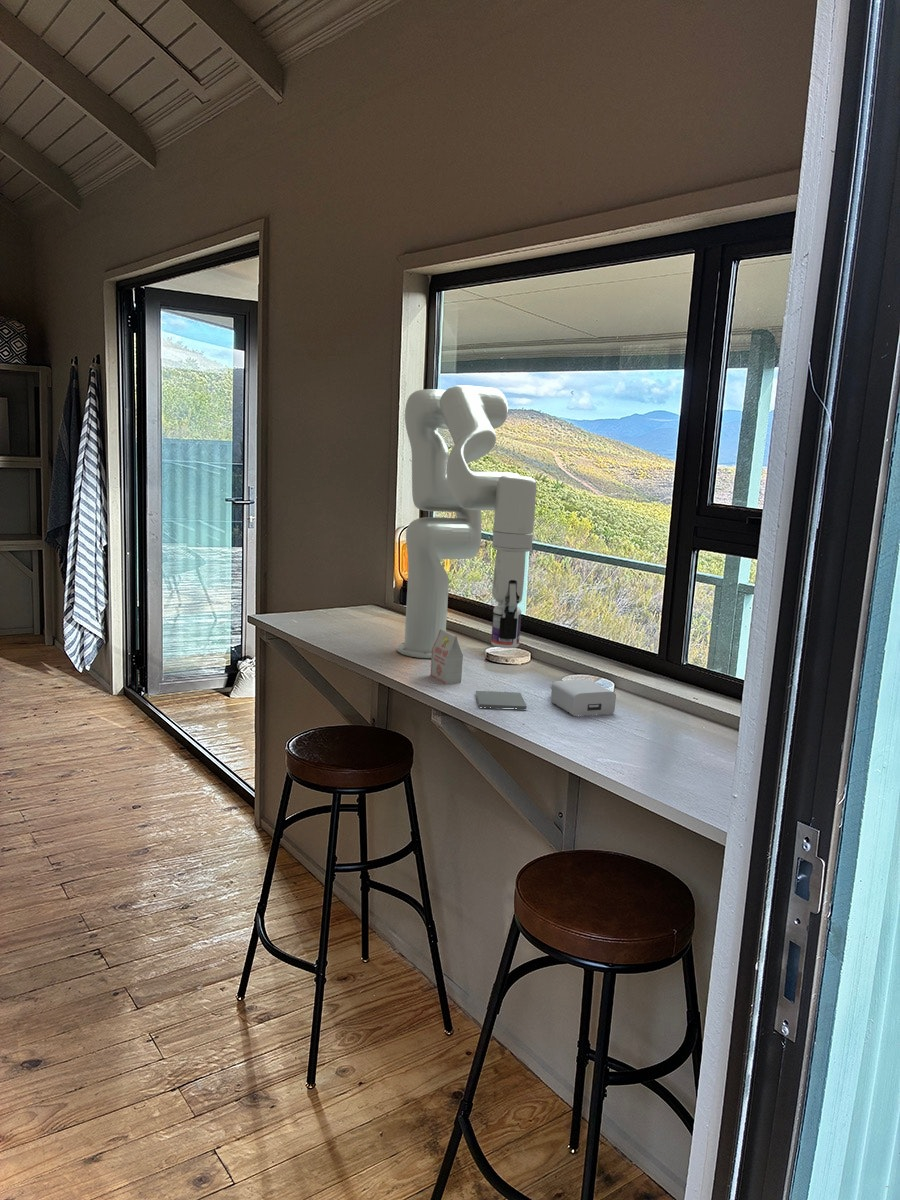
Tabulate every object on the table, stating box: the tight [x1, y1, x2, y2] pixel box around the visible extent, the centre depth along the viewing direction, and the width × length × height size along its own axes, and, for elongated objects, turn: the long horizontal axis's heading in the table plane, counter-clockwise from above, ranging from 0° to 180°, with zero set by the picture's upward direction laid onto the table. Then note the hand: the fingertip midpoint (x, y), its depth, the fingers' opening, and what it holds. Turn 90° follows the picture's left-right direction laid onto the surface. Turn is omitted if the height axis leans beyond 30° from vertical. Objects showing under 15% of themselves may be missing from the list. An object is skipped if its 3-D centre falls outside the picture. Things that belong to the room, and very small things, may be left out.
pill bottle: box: [490, 599, 522, 649], centre depth 175 cm, size 5×5×10 cm
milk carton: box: [430, 629, 464, 685], centre depth 191 cm, size 4×7×10 cm, turn 29°
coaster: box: [475, 690, 528, 710], centre depth 178 cm, size 9×9×1 cm
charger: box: [549, 678, 617, 717], centre depth 180 cm, size 5×9×15 cm
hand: (505, 633), depth 175 cm, fingers closed on pill bottle, 5 cm apart
